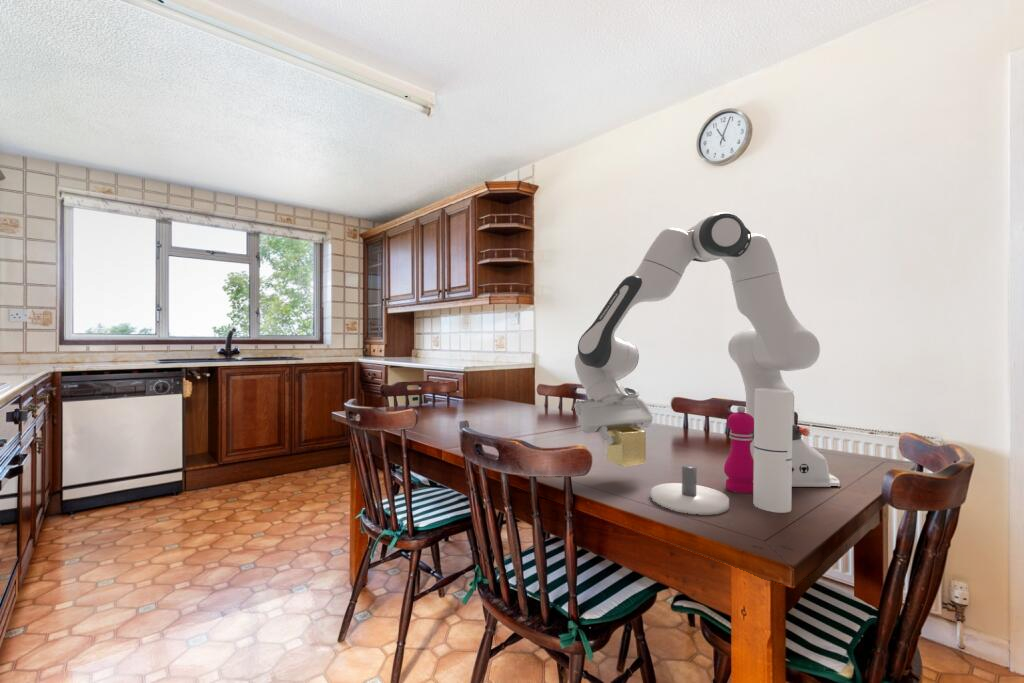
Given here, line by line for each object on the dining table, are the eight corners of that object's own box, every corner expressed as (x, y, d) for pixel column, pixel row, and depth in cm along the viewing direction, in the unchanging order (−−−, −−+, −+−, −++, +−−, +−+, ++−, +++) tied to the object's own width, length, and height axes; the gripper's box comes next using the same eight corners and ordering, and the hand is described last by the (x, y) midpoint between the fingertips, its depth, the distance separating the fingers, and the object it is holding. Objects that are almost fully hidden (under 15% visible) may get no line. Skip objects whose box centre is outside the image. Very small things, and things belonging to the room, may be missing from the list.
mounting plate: (717, 491, 108) (717, 459, 108) (739, 517, 93) (739, 480, 93) (646, 487, 111) (647, 456, 111) (656, 511, 95) (657, 475, 95)
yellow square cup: (606, 459, 118) (606, 428, 118) (629, 457, 120) (629, 426, 120) (622, 466, 111) (622, 433, 111) (645, 463, 114) (645, 431, 114)
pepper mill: (753, 486, 113) (754, 404, 113) (760, 495, 106) (761, 408, 106) (721, 483, 115) (722, 403, 115) (726, 492, 108) (727, 407, 108)
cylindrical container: (746, 500, 102) (747, 388, 102) (777, 500, 103) (778, 388, 103) (766, 513, 95) (767, 392, 95) (799, 512, 96) (800, 392, 96)
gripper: (575, 393, 119) (595, 439, 109) (642, 389, 126) (666, 432, 117) (567, 408, 123) (586, 453, 114) (632, 403, 130) (655, 446, 121)
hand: (627, 442), depth 115 cm, fingers closed on yellow square cup, 7 cm apart
